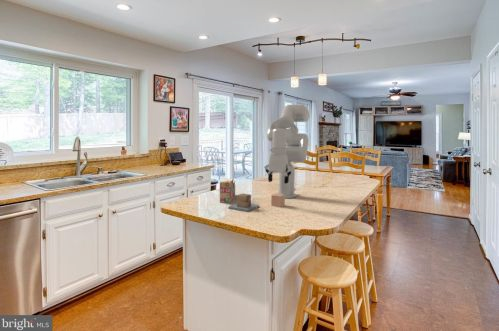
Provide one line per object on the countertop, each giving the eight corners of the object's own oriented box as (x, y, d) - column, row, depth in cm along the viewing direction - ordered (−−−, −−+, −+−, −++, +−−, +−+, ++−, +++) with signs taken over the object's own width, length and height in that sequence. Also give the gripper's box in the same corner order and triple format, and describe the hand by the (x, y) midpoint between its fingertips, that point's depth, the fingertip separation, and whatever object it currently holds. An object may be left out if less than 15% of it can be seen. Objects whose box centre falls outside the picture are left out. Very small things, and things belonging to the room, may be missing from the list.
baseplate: (240, 203, 176) (240, 202, 176) (259, 206, 169) (259, 205, 169) (228, 208, 165) (228, 206, 165) (247, 211, 159) (247, 209, 159)
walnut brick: (242, 204, 171) (242, 193, 170) (250, 205, 168) (251, 194, 167) (236, 206, 166) (236, 195, 166) (245, 207, 164) (245, 196, 163)
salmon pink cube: (275, 203, 177) (276, 193, 176) (284, 205, 174) (284, 194, 174) (271, 205, 172) (271, 195, 172) (280, 207, 170) (280, 196, 169)
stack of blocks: (225, 194, 200) (225, 176, 198) (235, 195, 199) (235, 176, 198) (219, 202, 179) (219, 181, 177) (230, 203, 178) (230, 181, 177)
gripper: (261, 151, 171) (261, 181, 172) (290, 152, 162) (289, 184, 163) (268, 150, 177) (267, 180, 179) (296, 151, 168) (295, 183, 170)
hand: (278, 182), depth 171 cm, fingers open, 9 cm apart
